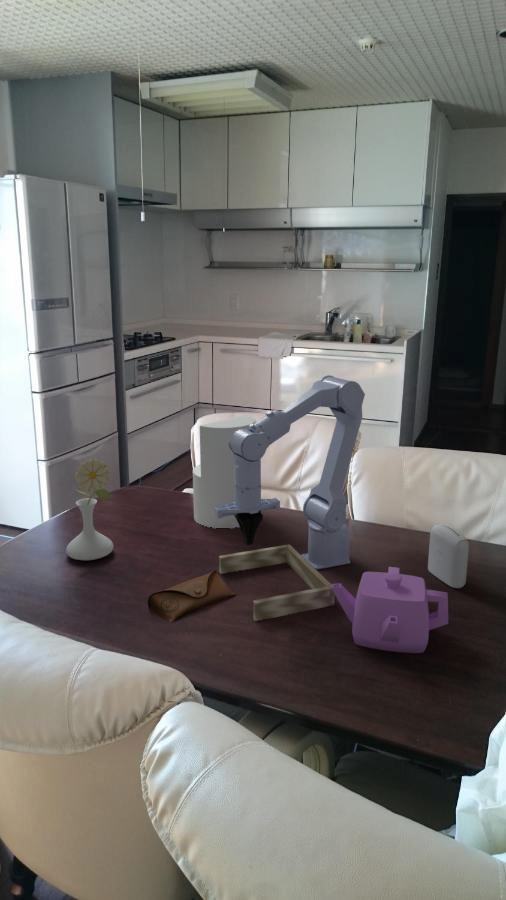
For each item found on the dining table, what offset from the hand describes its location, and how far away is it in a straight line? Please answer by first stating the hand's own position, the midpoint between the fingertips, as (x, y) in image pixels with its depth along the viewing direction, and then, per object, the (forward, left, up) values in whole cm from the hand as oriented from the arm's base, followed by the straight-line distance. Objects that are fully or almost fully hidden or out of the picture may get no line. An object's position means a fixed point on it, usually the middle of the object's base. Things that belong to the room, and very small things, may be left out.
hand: (248, 543), depth 142 cm
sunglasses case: (+14, +4, -10) cm, 18 cm away
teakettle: (-17, +30, -10) cm, 36 cm away
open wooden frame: (-4, +5, -9) cm, 11 cm away
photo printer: (-42, +15, -10) cm, 46 cm away
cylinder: (-7, -38, -10) cm, 40 cm away
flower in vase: (+31, -26, -10) cm, 41 cm away
